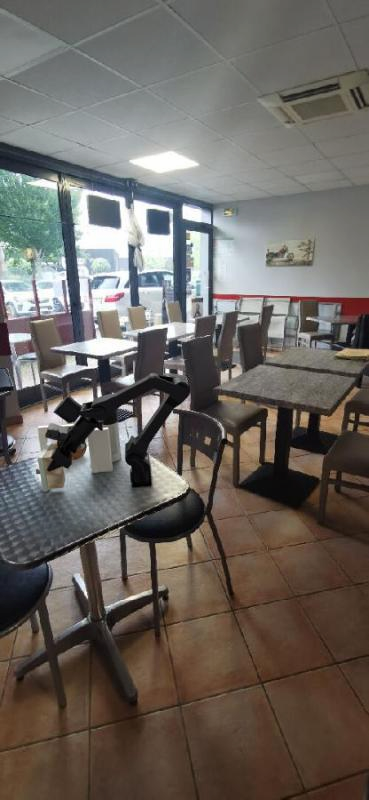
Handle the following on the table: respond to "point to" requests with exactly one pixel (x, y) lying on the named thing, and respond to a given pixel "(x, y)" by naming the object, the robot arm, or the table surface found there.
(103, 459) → the wall frame
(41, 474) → the door
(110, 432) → the spray can
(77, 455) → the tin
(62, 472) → the block
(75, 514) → the table surface
